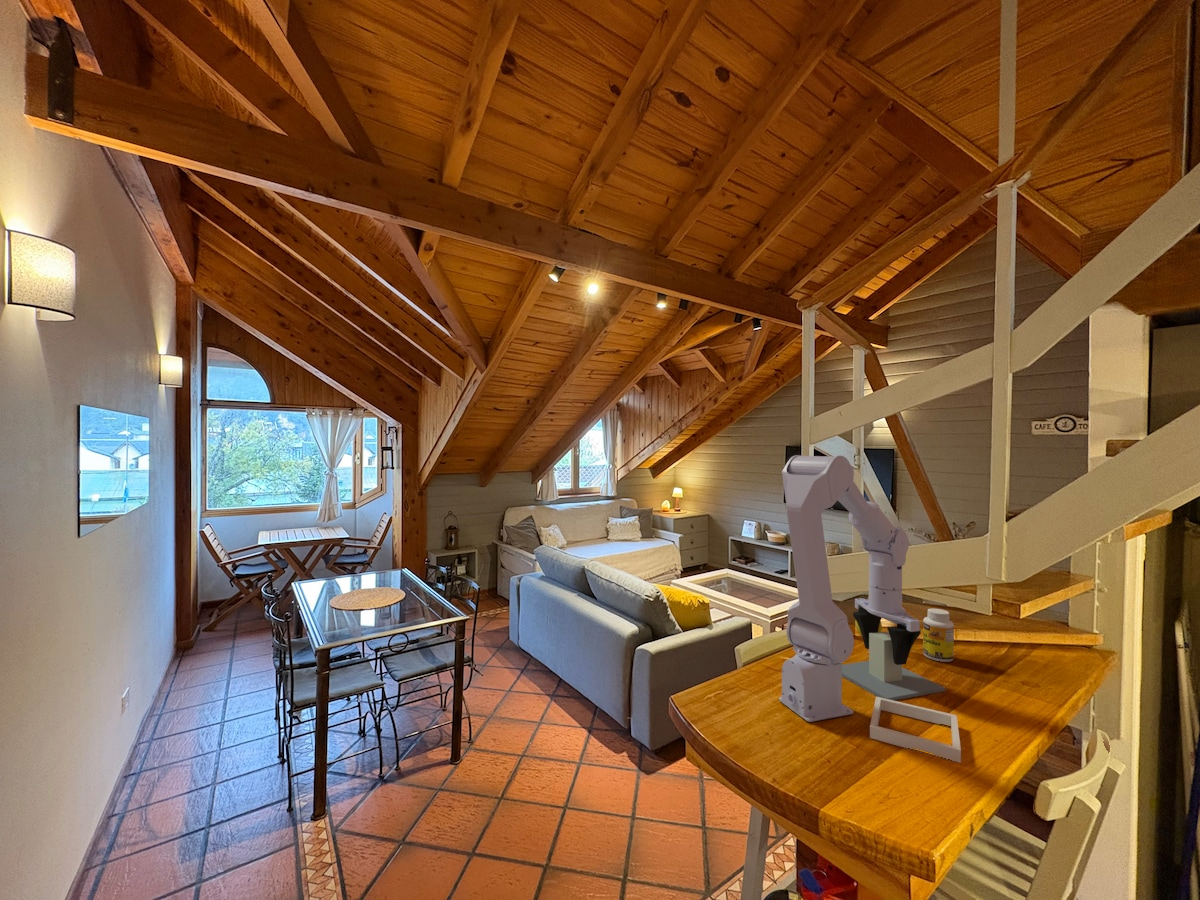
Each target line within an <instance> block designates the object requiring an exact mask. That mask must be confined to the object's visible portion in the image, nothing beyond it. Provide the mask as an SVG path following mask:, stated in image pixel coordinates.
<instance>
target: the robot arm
mask: <svg viewBox="0 0 1200 900" xmlns="http://www.w3.org/2000/svg"><path fill="white" fill-rule="evenodd" d="M854 470H855V469H854V467H853V466H852V465H851V462H850V461H849V460H848V458H847V457H845V456H844V455H834V456H832V455H831V456H830V455H829V456H828V455H825V456H821V455H815V456H813V455H801V454H800V455H799V454H797V455H793V456H791V457H790V458H789V460H788V461H787V462H786V464H785V465H784V468H783V469H782V470H781V475H782V481H783V490H784V497H785V498H784V499H785V502H786V503H785V504H786V507H785V508H786V509H785V510H786V516H787V523H788V530H789V537H790V545H791V551H792V558H793V566H794V572H795V573H794V574H795V580H796V587H797V595H798V601H796V602H794V603H793V604H792V605H791V606H790V607H789V608H788V609H787V613H786V614H787V624H786V630H785V631H786V636H787V640H788V642H789V643H790V644H791V645H793V648H792V649H793V652H795V653H796V654H795V655H793V657H791V658H788V659H786V660H784V662H783V664H782V668H781V696H779V698H778V700H780V701H779V702H781V703H782V704H783V705H785V706H786V707H787V708H789V710H791V711H793V712H794V713H795V714H797V715H798V716H799V717H800V718H802V719H804V720H805V721H807V722H809V723H812V722H817V721H821V720H822V721H823V720H828V719H833V718H838V717H843V716H849V715H854V709H852V708H850V707H849V706H847V705H846V704H844V703H842V702H843V701H842V699H843V697H842V696H843V695H842V690H843V688H842V687H843V683H842V680H843V677H842V665H843V664H842V663H844V662H845V661H847V660H848V659H849V658H850V656H851V654H852V652H853V650H854V645H855V639H854V638H855V637H854V635H853V631H852V629H851V627H850V625H849V623H848V622H849V621H848V616H847V615H846V614H845V613H844V611H843V610H841V609H840V607H839V606H838V605H837V604H836V603H835V602H834V601H833V595H832V587H831V579H830V572H829V564H828V558H827V557H828V556H827V550H826V549H827V548H826V542H825V534H824V528H823V526H824V525H823V518H822V514H823V513H824V511H825V510H827V509H829V508H832V507H833V506H834V505H835V504H836V503H837V502H839V504H841V505H842V506H843V507H844V509H846V510H847V511H848V512H849V514H848V520H849V522H850V523H851V525H852V526H853V527H854V528H855V530H856V531H857V532H858V533H859V536H860V538H861V544H862V547H863V549H864V550H865V551H866V552H867V553H868V599H866V598H863V597H861V598H855V599H854V608H855V609H856V610H857V611H853V612H852V616H853V618H854V619H855V620H856V621H857V623H858V625H859V628H860V631H861V634H862V636H861V637H862V641H863V645H864V648H865V649H866V650H869V633H876V632H878V629H879V624H880V621H881V620H882V619H884V620H886V621H889V622H890V623H893V624H895V625H894V626H887V627H886V628H887V632H888V633H889V634H890V637H891V641H892V646H893V659H894V663H895V664H896V665H902V666H903V665H907V662H908V659H909V655H910V653H911V650H912V647H913V646H914V643H915V642H916V640H918V637H919V636H920V635H921V630H922V629H921V626H920V625H921V621H920V620H918V619H916V618H915V617H914V616H912V615H910V614H908V613H907V612H906V608H904V607H903V566H905V565H906V560H907V559H906V557H907V553H908V550H909V545H910V540H909V536H908V534H907V532H906V531H905V530H903V529H902V528H901V527H897V526H895V525H894V524H893V523H892V522H891V520H890V519H889V518H888V517H887V515H886V514H885V513H884V512H883V510H882V509H881V508H880V505H879V504H878V503H877V502H873V501H869V500H866V498H865V496H864V494H862V492H861V490H860V489H859V487H858V486H857V484H856V482H855V481H854V478H855V471H854ZM881 622H882V621H881Z"/></svg>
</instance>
